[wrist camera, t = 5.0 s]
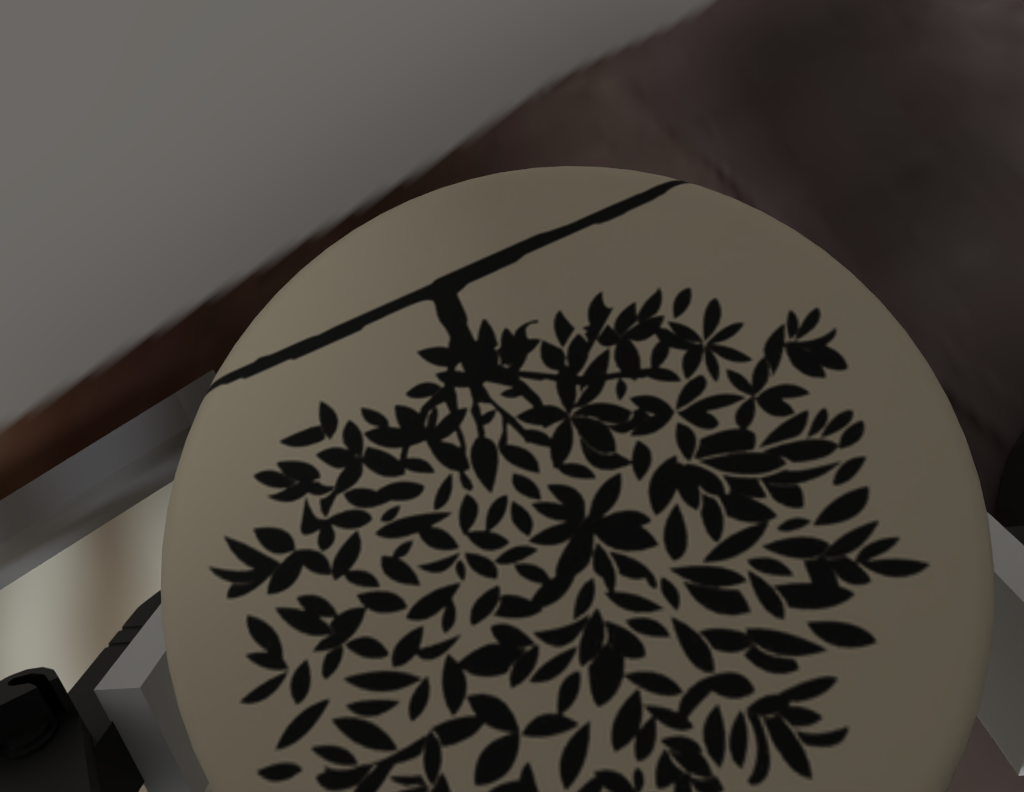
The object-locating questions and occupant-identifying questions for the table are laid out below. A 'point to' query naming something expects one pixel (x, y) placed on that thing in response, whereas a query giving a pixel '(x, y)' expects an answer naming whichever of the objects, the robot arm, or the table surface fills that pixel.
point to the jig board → (90, 541)
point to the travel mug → (576, 512)
